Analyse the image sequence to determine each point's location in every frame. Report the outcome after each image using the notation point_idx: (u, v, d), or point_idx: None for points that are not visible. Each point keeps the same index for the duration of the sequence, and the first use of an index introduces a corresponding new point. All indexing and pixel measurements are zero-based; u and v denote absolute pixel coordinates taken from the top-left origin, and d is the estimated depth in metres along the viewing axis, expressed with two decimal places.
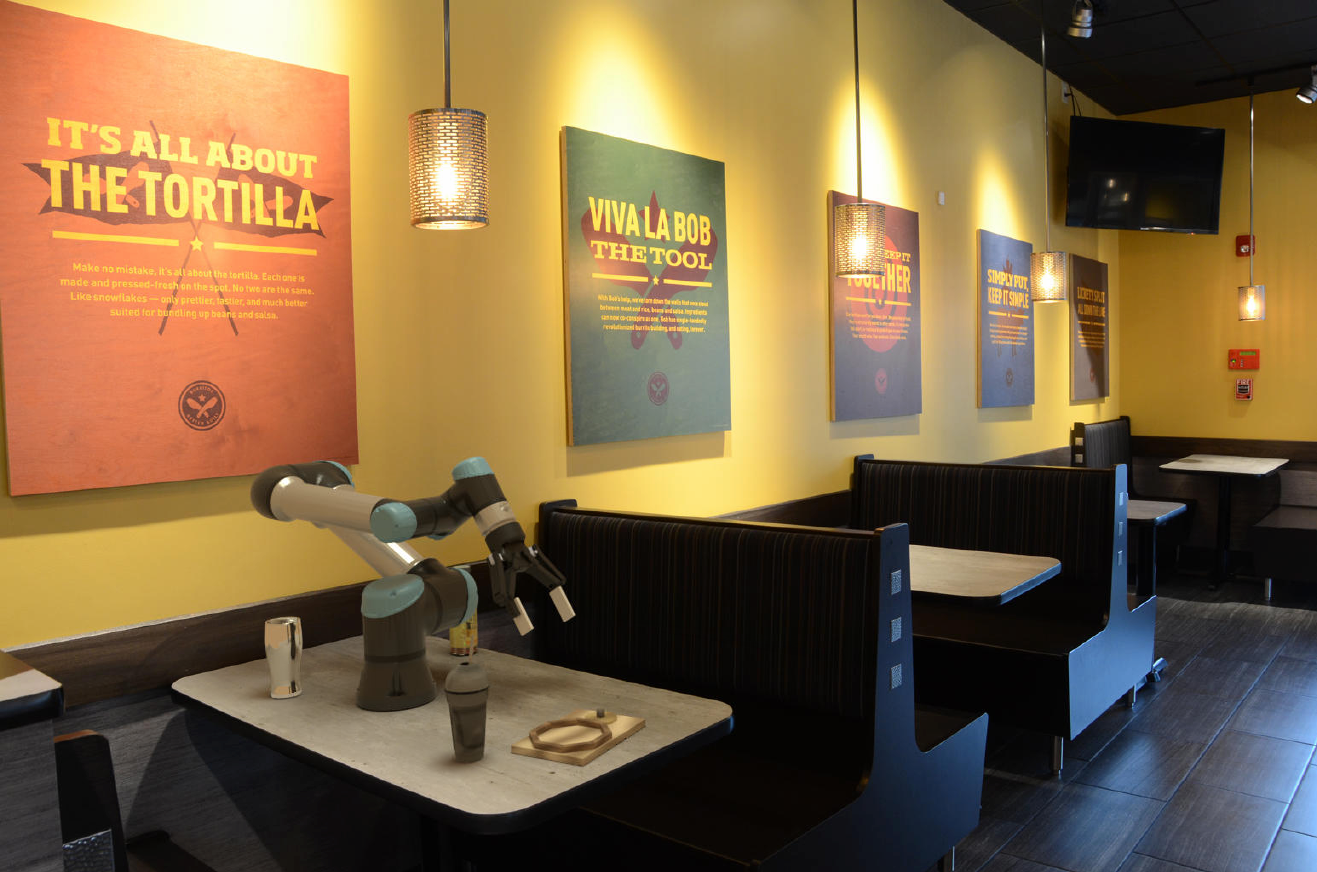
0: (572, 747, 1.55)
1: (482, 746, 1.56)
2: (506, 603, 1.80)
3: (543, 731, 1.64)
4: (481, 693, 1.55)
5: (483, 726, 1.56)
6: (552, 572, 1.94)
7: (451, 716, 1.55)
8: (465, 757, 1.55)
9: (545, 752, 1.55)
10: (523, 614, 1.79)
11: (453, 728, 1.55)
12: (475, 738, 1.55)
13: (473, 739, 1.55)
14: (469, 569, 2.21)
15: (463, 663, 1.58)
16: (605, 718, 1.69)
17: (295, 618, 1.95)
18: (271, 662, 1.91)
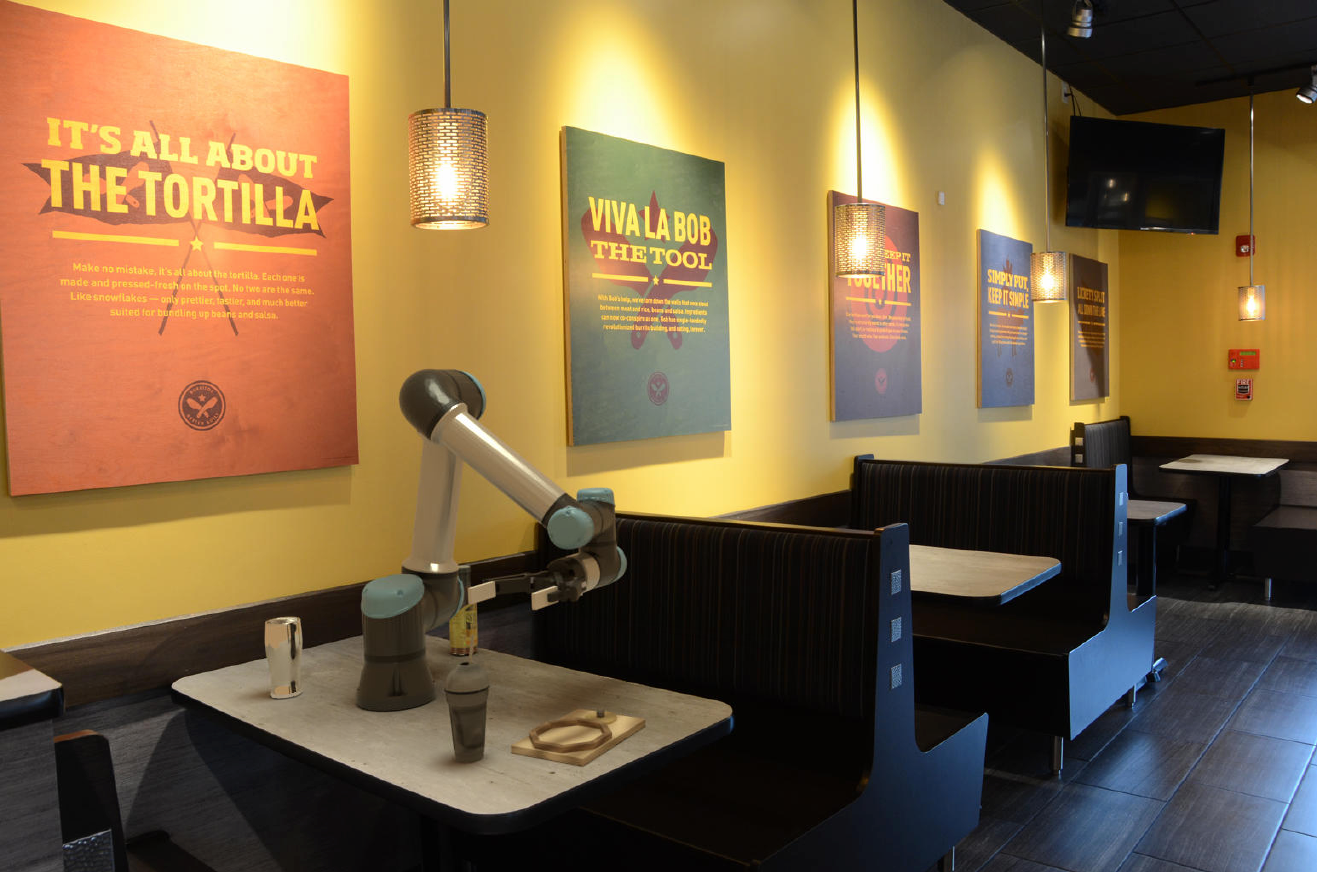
0: (572, 747, 1.55)
1: (482, 746, 1.56)
2: (563, 593, 1.66)
3: (543, 731, 1.64)
4: (481, 693, 1.55)
5: (483, 726, 1.56)
6: None
7: (451, 716, 1.55)
8: (465, 757, 1.55)
9: (545, 752, 1.55)
10: (546, 605, 1.64)
11: (453, 728, 1.55)
12: (475, 738, 1.55)
13: (473, 739, 1.55)
14: (469, 569, 2.21)
15: (463, 663, 1.58)
16: (605, 718, 1.69)
17: (295, 618, 1.95)
18: (271, 662, 1.91)
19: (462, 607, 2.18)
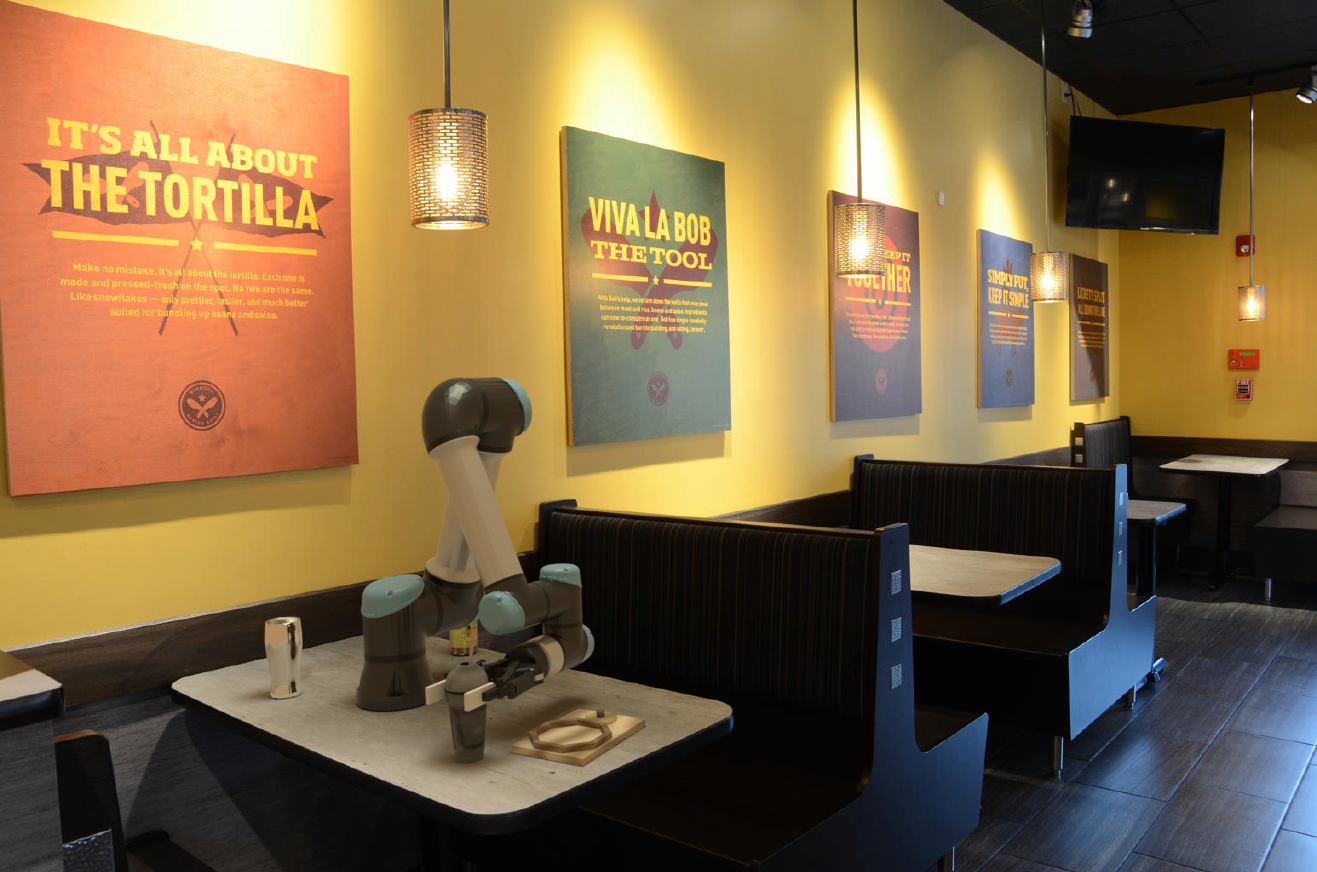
0: (572, 747, 1.55)
1: (482, 746, 1.56)
2: (499, 690, 1.55)
3: (543, 731, 1.64)
4: None
5: (483, 726, 1.56)
6: None
7: (451, 716, 1.55)
8: (465, 757, 1.55)
9: (545, 752, 1.55)
10: (480, 704, 1.53)
11: (453, 728, 1.55)
12: (475, 738, 1.55)
13: (473, 739, 1.55)
14: None
15: (463, 663, 1.58)
16: (605, 718, 1.69)
17: (295, 618, 1.95)
18: (271, 662, 1.91)
19: None
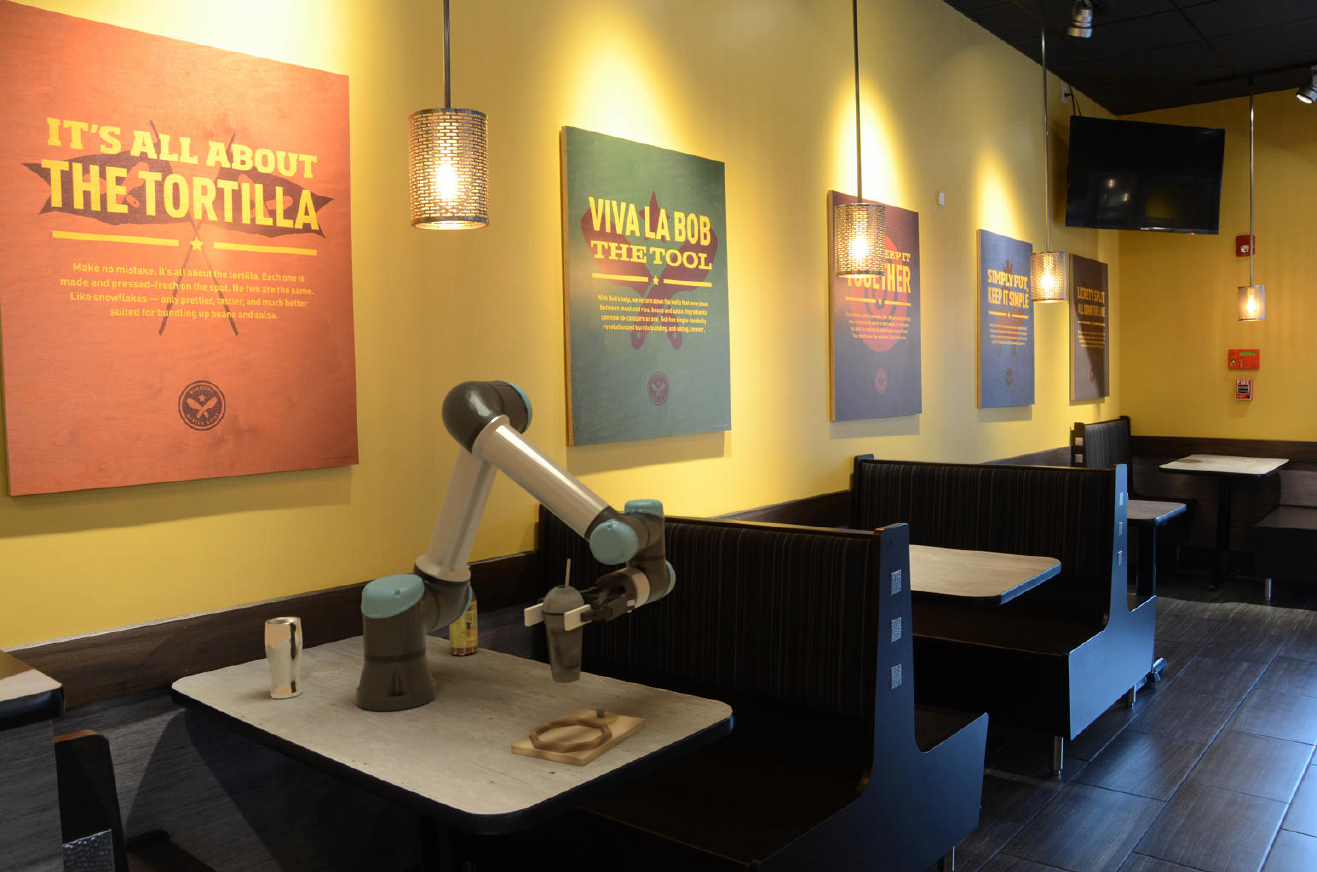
0: (572, 747, 1.55)
1: (579, 667, 1.60)
2: (596, 612, 1.59)
3: (543, 731, 1.64)
4: None
5: (580, 648, 1.59)
6: None
7: (549, 637, 1.59)
8: (563, 677, 1.58)
9: (545, 752, 1.55)
10: (579, 625, 1.57)
11: (551, 649, 1.59)
12: (572, 659, 1.58)
13: (571, 660, 1.58)
14: (469, 569, 2.21)
15: (559, 587, 1.61)
16: (605, 718, 1.69)
17: (295, 618, 1.95)
18: (271, 662, 1.91)
19: None
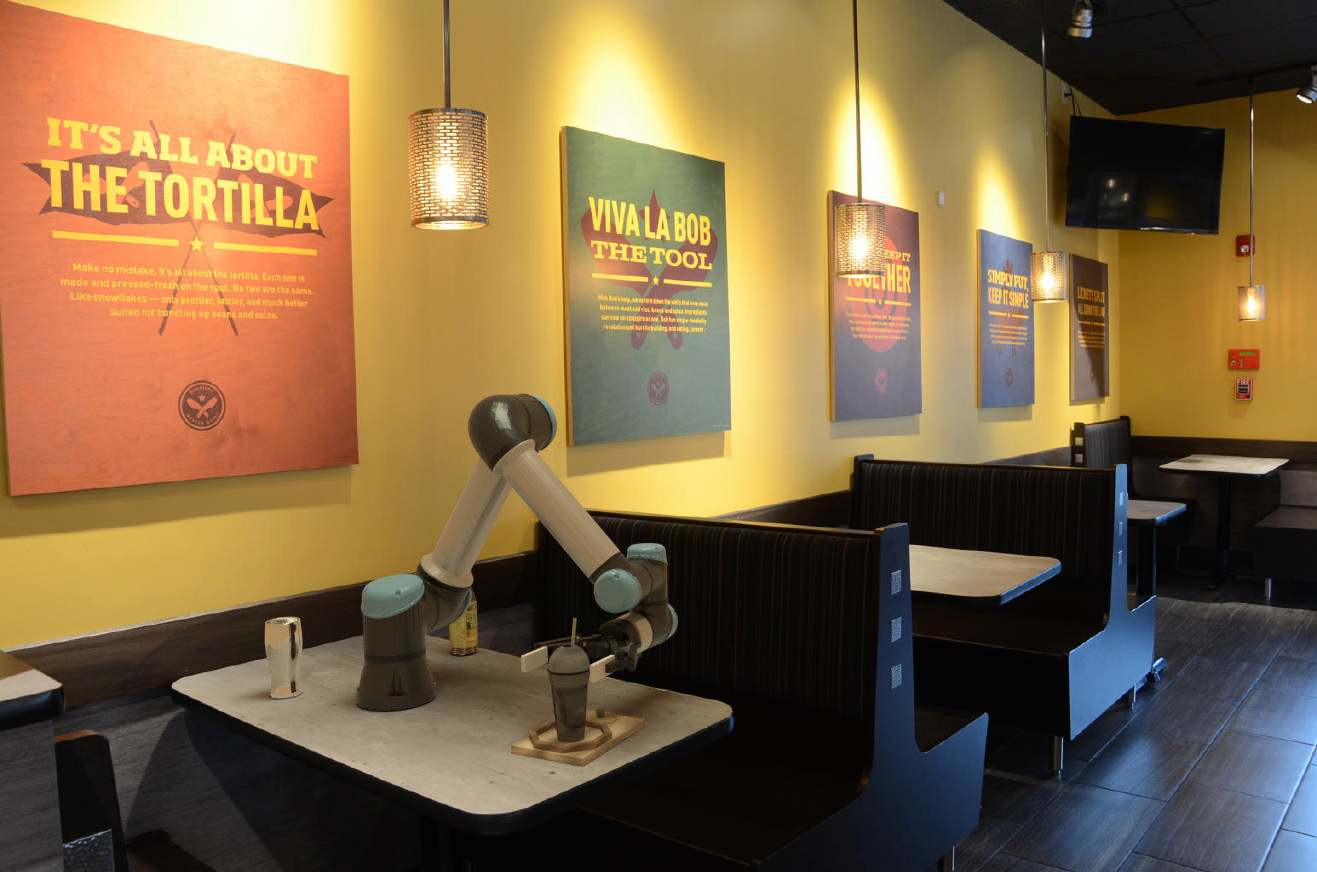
0: (572, 747, 1.55)
1: (584, 726, 1.60)
2: (620, 663, 1.60)
3: (543, 731, 1.64)
4: (584, 674, 1.59)
5: (585, 707, 1.60)
6: None
7: (554, 697, 1.59)
8: (568, 737, 1.59)
9: (545, 752, 1.55)
10: (604, 676, 1.57)
11: (556, 708, 1.59)
12: (577, 718, 1.59)
13: (576, 719, 1.59)
14: None
15: (565, 645, 1.62)
16: (605, 718, 1.69)
17: (295, 618, 1.95)
18: (271, 662, 1.91)
19: None
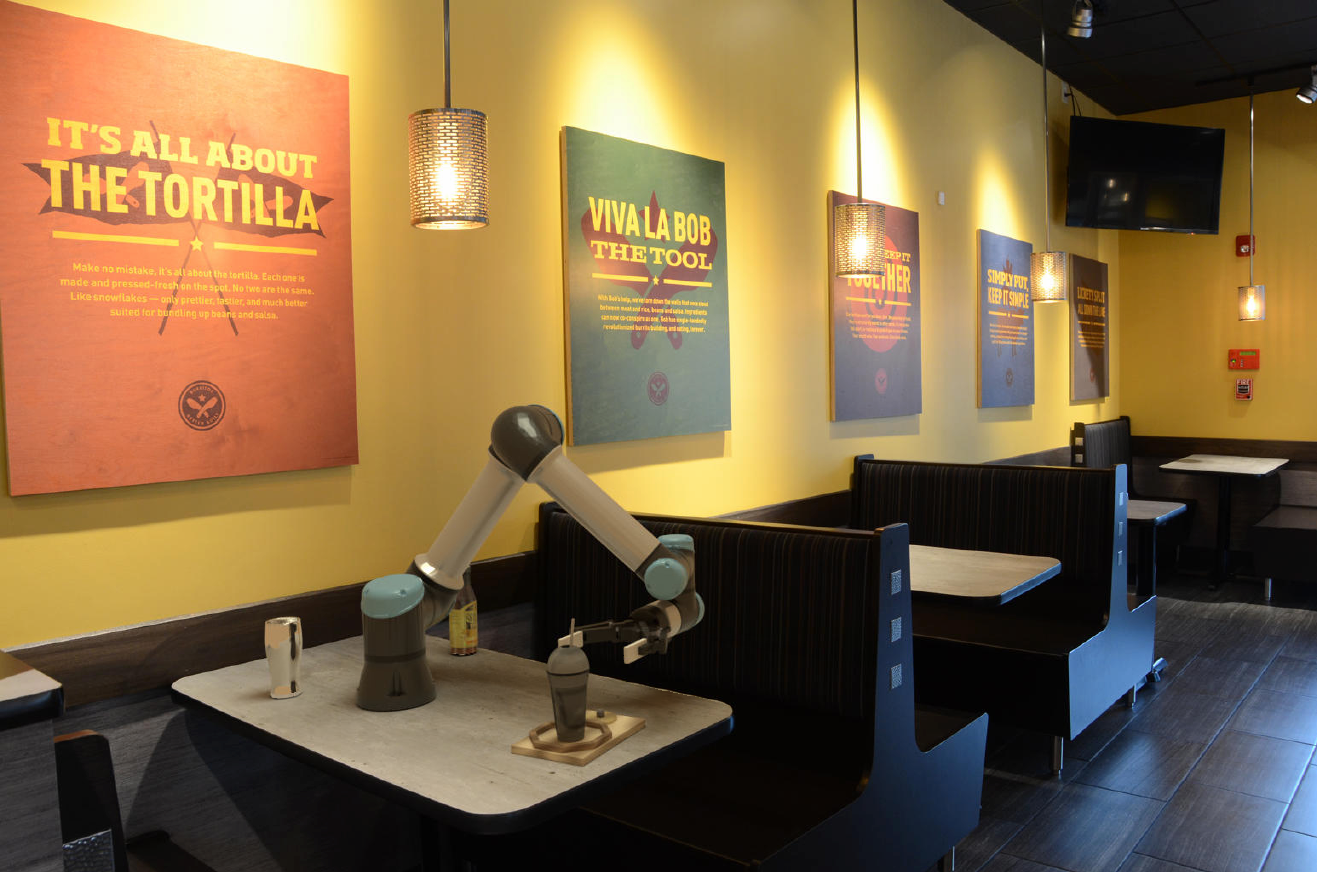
0: (572, 747, 1.55)
1: (583, 726, 1.60)
2: (652, 646, 1.69)
3: (543, 731, 1.64)
4: (583, 675, 1.59)
5: (584, 707, 1.60)
6: None
7: (554, 697, 1.59)
8: (568, 737, 1.59)
9: (545, 752, 1.55)
10: (637, 658, 1.66)
11: (556, 709, 1.59)
12: (577, 719, 1.59)
13: (575, 719, 1.59)
14: (469, 569, 2.21)
15: (563, 646, 1.62)
16: (605, 718, 1.69)
17: (295, 618, 1.95)
18: (271, 662, 1.91)
19: (462, 607, 2.18)
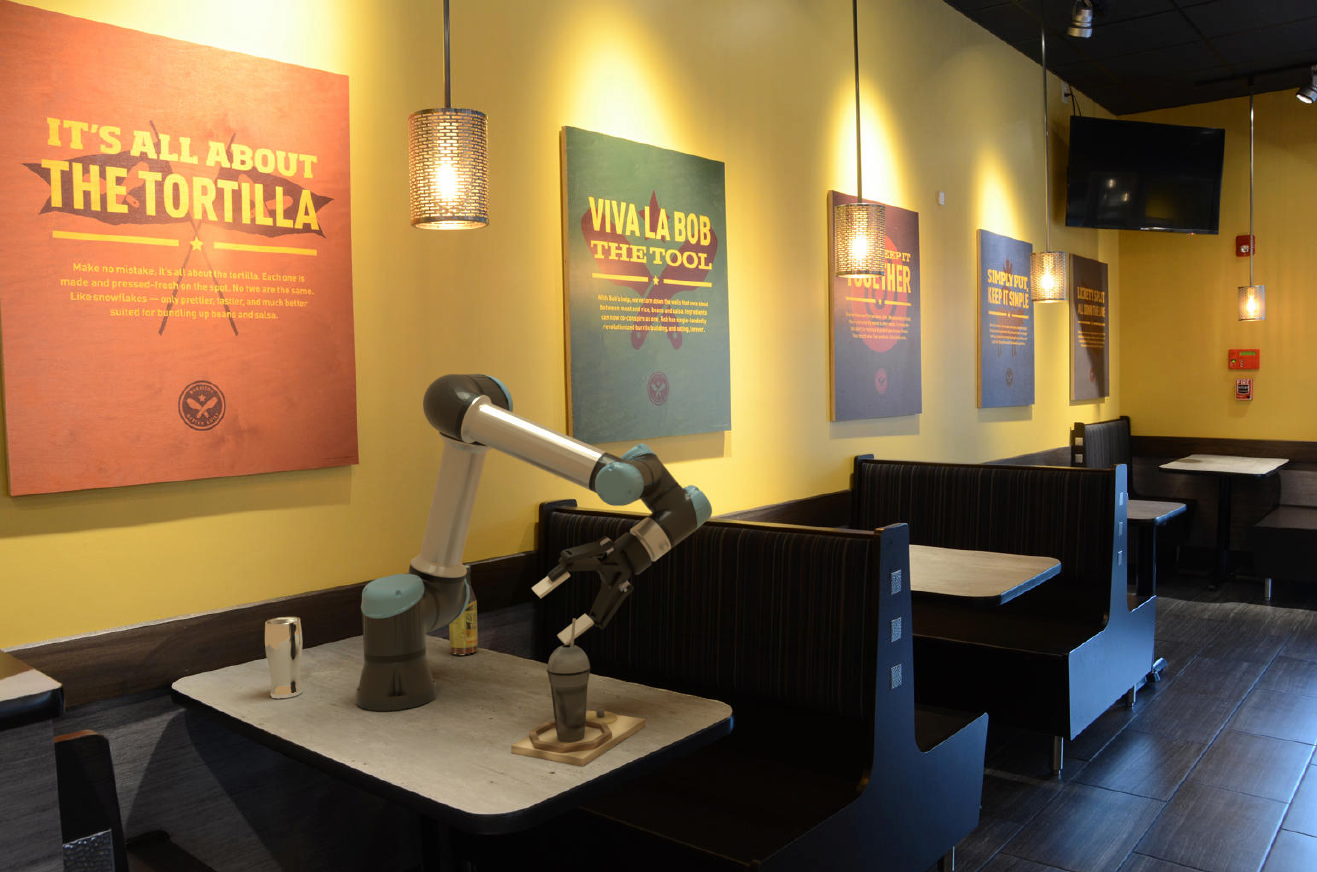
0: (572, 747, 1.55)
1: (583, 726, 1.60)
2: (561, 564, 1.70)
3: (543, 731, 1.64)
4: (584, 674, 1.59)
5: (585, 707, 1.60)
6: (607, 612, 1.81)
7: (554, 697, 1.59)
8: (568, 737, 1.59)
9: (545, 752, 1.55)
10: (553, 584, 1.69)
11: (556, 709, 1.59)
12: (577, 719, 1.59)
13: (576, 719, 1.59)
14: (469, 569, 2.21)
15: (564, 646, 1.62)
16: (605, 718, 1.69)
17: (295, 618, 1.95)
18: (272, 662, 1.91)
19: None
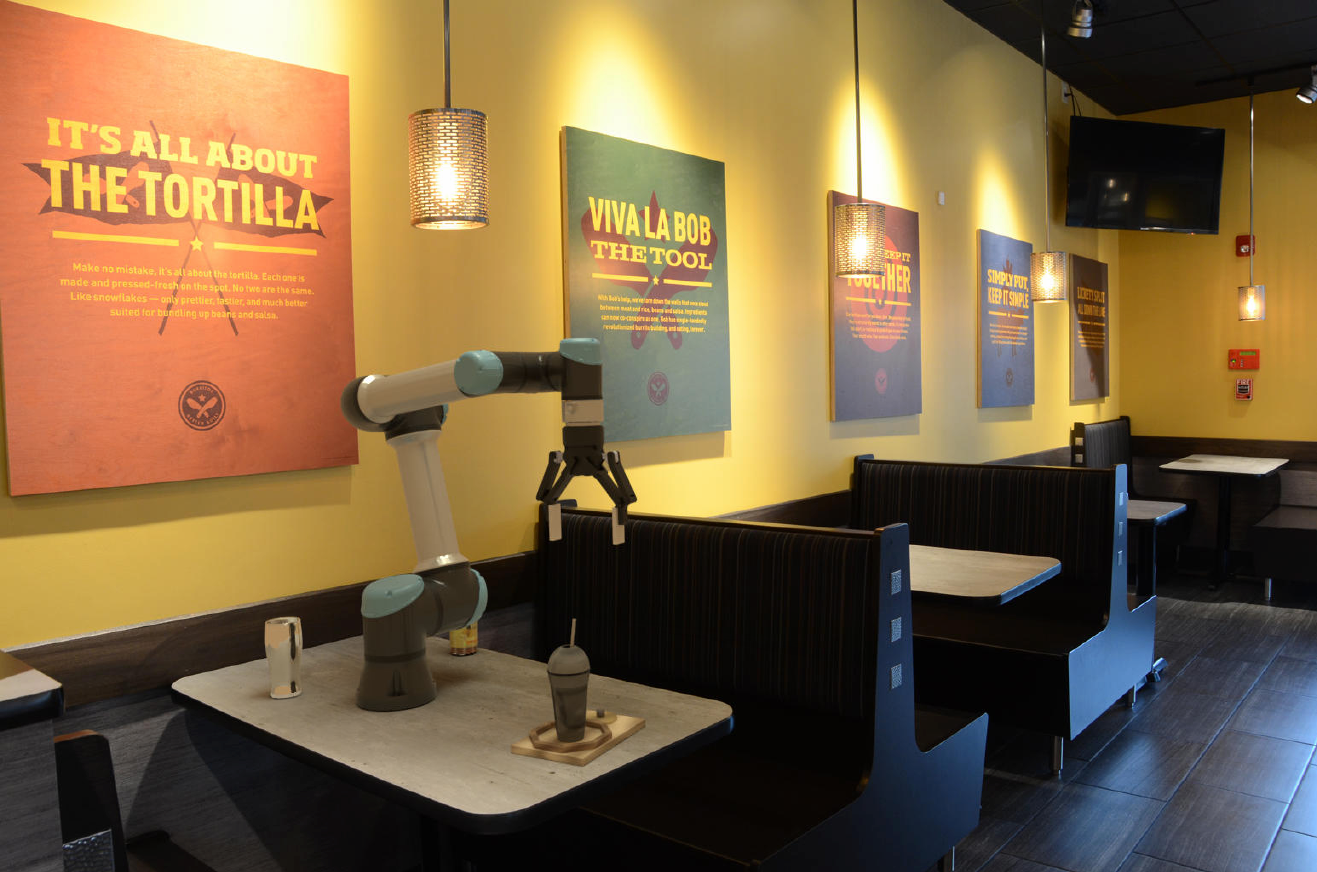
0: (572, 747, 1.55)
1: (583, 727, 1.60)
2: None
3: (543, 731, 1.64)
4: (584, 675, 1.59)
5: (585, 707, 1.60)
6: None
7: (554, 697, 1.59)
8: (568, 737, 1.59)
9: (545, 752, 1.55)
10: (549, 523, 1.77)
11: (556, 709, 1.59)
12: (577, 719, 1.59)
13: (576, 720, 1.59)
14: None
15: (564, 646, 1.62)
16: (605, 718, 1.69)
17: (295, 618, 1.95)
18: (271, 662, 1.91)
19: None
